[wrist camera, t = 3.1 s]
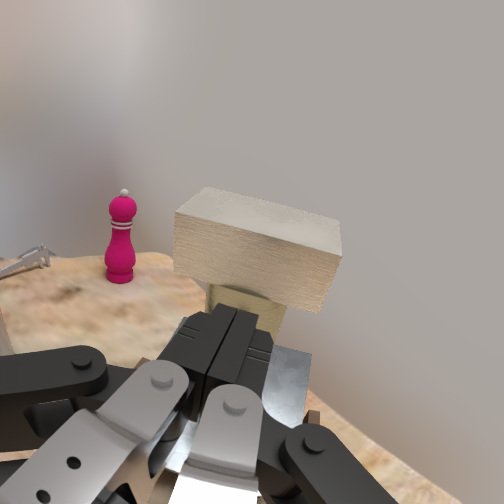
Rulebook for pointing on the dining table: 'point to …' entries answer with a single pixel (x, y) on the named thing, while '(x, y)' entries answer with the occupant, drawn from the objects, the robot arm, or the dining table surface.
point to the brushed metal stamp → (258, 280)
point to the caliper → (28, 260)
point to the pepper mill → (121, 239)
